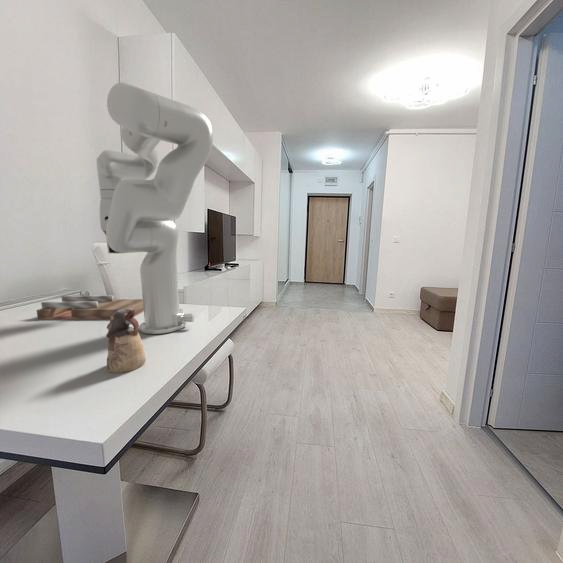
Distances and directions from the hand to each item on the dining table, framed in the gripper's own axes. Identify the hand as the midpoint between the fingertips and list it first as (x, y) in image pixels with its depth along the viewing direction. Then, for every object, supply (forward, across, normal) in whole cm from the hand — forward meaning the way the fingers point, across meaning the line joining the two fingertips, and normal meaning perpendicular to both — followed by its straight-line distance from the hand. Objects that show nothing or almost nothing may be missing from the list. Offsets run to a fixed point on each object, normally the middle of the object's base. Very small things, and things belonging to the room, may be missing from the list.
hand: (119, 251), depth 97 cm
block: (0, 0, 0) cm, 0 cm away
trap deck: (+21, +2, -9) cm, 23 cm away
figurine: (+21, +42, +22) cm, 52 cm away
